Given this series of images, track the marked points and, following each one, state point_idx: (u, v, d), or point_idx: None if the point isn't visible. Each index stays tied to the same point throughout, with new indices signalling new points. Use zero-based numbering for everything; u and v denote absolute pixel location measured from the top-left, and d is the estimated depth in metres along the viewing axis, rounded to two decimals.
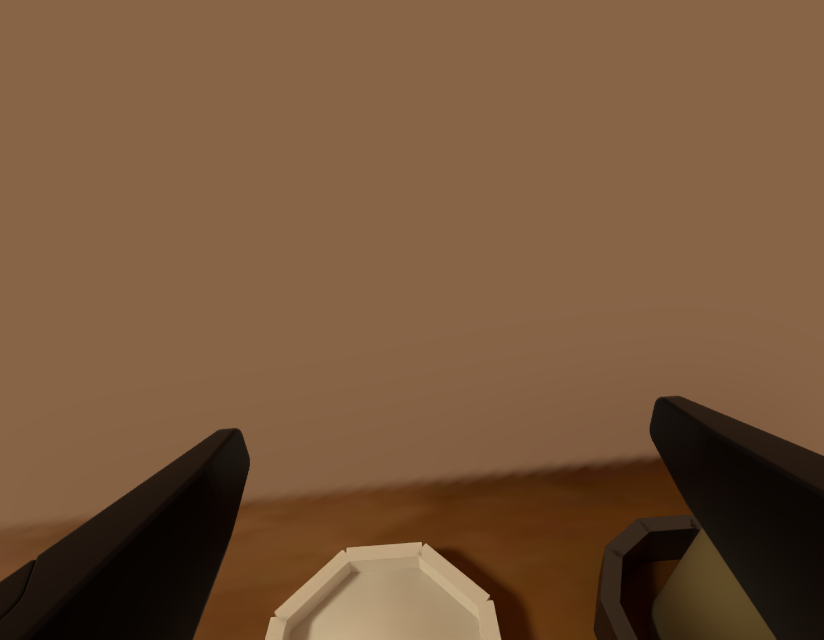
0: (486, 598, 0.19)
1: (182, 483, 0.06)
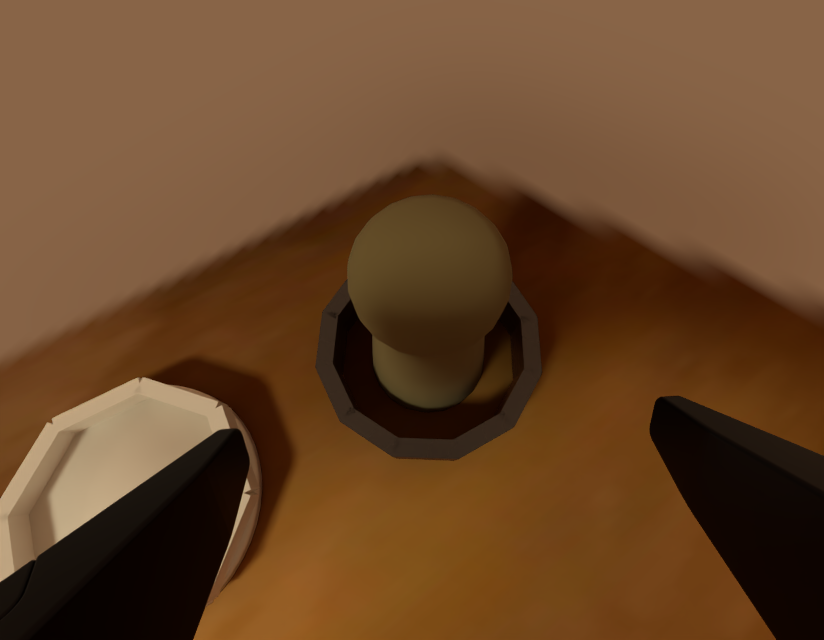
0: (215, 405, 0.19)
1: (182, 483, 0.06)
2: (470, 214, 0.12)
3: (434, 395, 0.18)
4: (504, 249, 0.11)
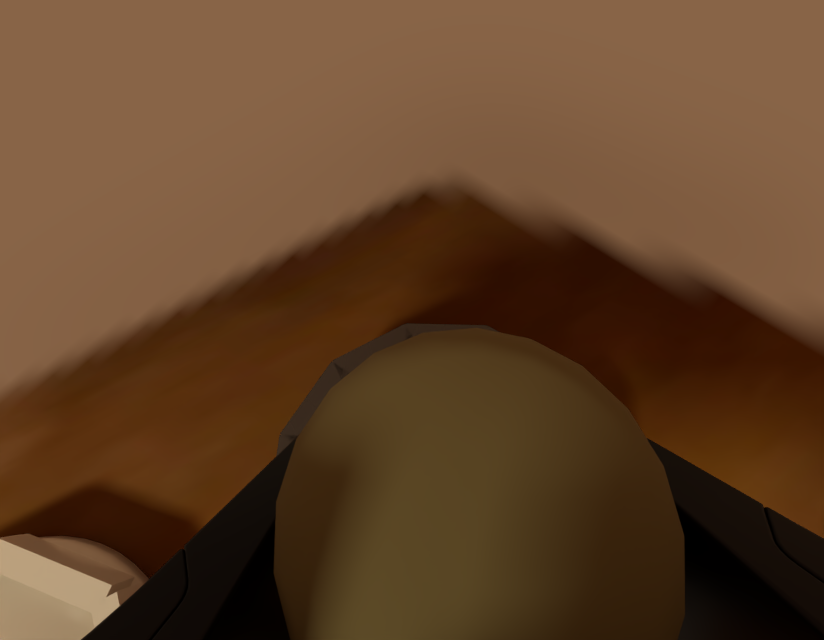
0: (105, 593, 0.12)
1: None
2: (584, 406, 0.05)
3: None
4: (672, 499, 0.04)
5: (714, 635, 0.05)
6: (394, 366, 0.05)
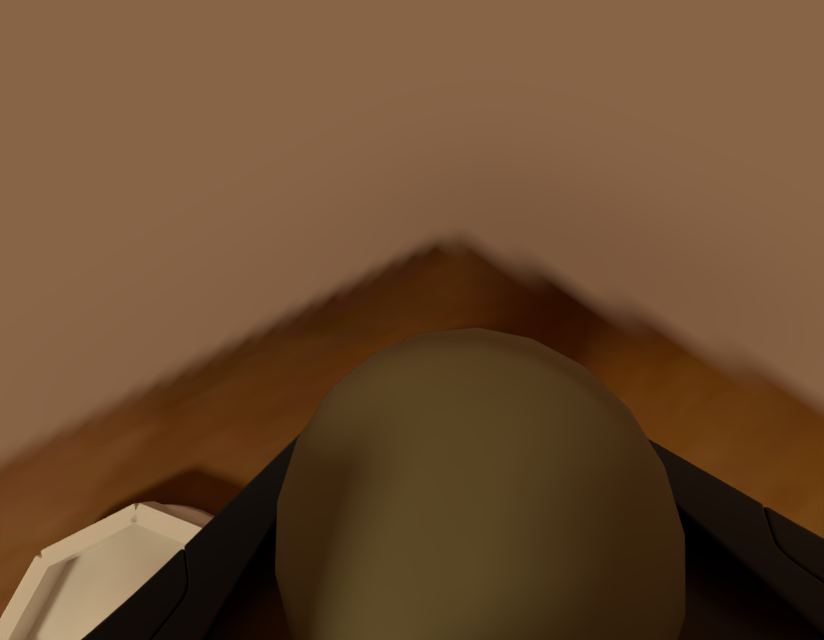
0: None
1: None
2: (584, 405, 0.05)
3: None
4: (673, 499, 0.04)
5: (714, 635, 0.05)
6: (395, 366, 0.05)
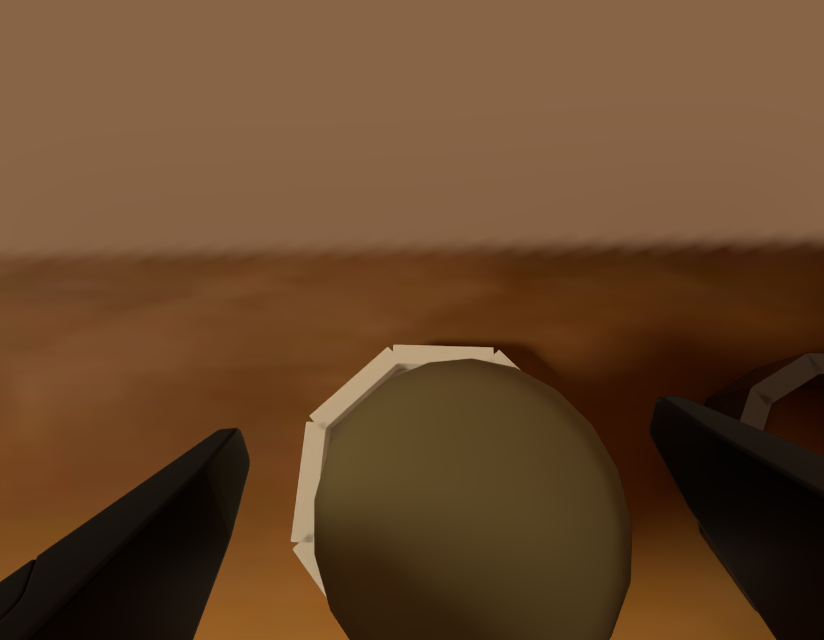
0: None
1: (182, 483, 0.06)
2: (553, 424, 0.06)
3: None
4: (621, 496, 0.06)
5: None
6: (406, 392, 0.06)
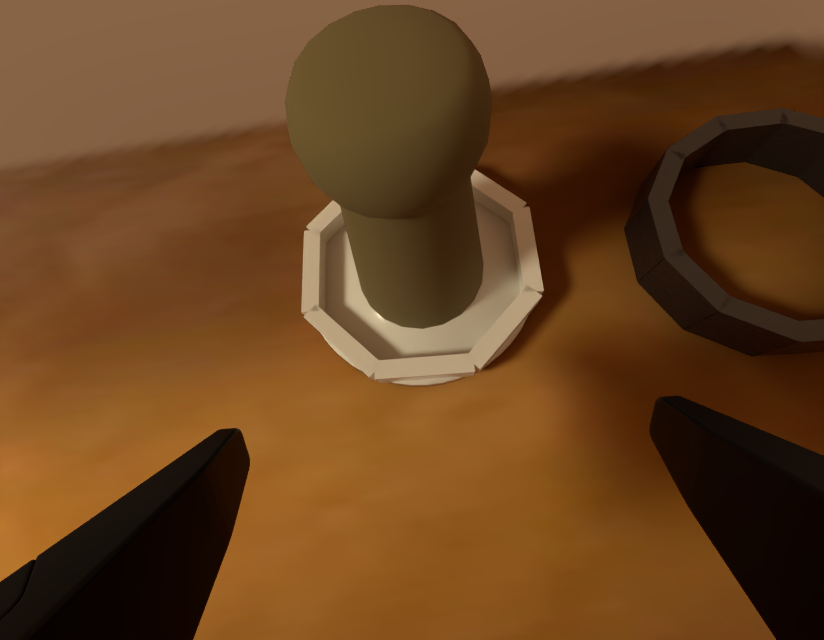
0: (522, 205, 0.18)
1: (182, 483, 0.06)
2: (428, 14, 0.09)
3: (428, 299, 0.16)
4: (475, 53, 0.09)
5: None
6: (335, 21, 0.09)
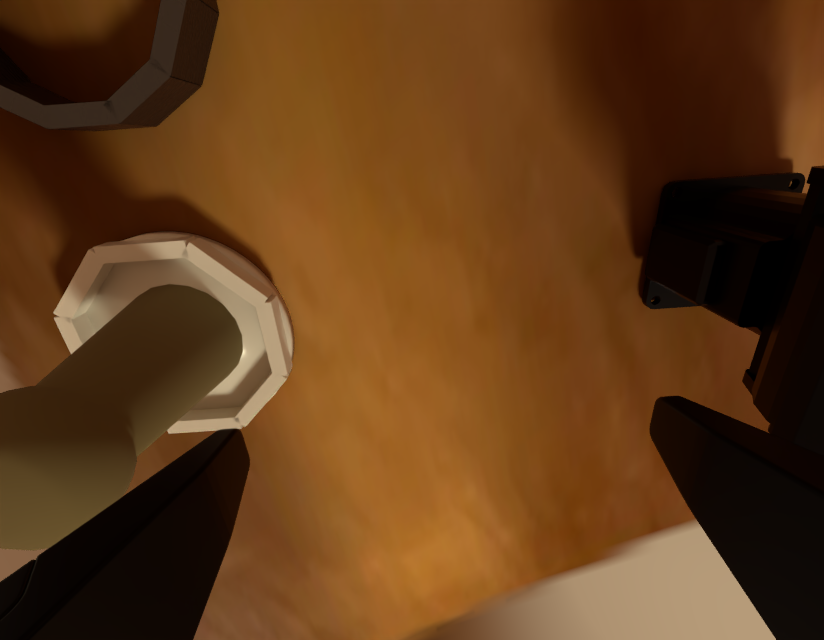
0: (93, 253, 0.18)
1: (182, 483, 0.06)
2: None
3: (209, 351, 0.18)
4: None
5: None
6: None
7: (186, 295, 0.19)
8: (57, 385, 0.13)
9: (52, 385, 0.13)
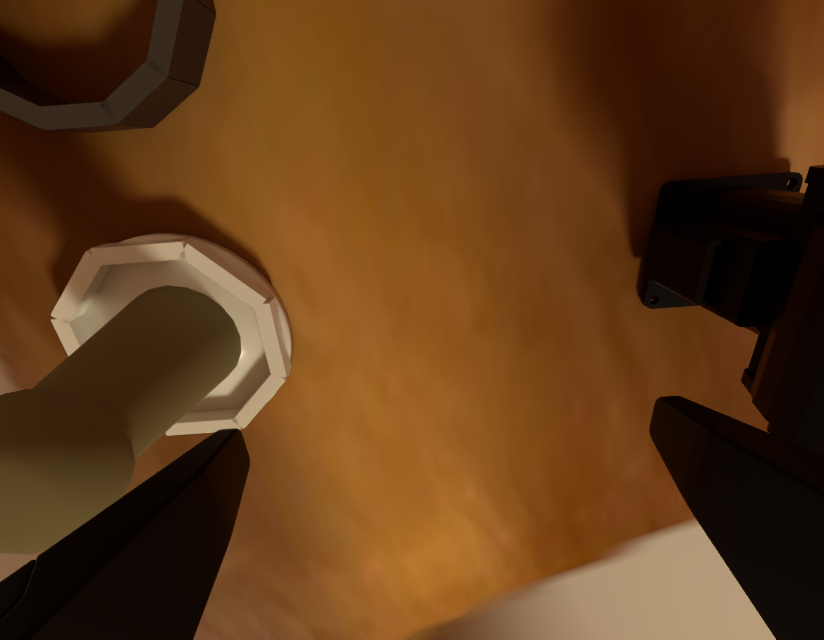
0: (90, 255, 0.18)
1: (182, 483, 0.06)
2: None
3: (207, 353, 0.18)
4: None
5: None
6: None
7: (184, 296, 0.19)
8: (54, 388, 0.13)
9: (49, 388, 0.13)
